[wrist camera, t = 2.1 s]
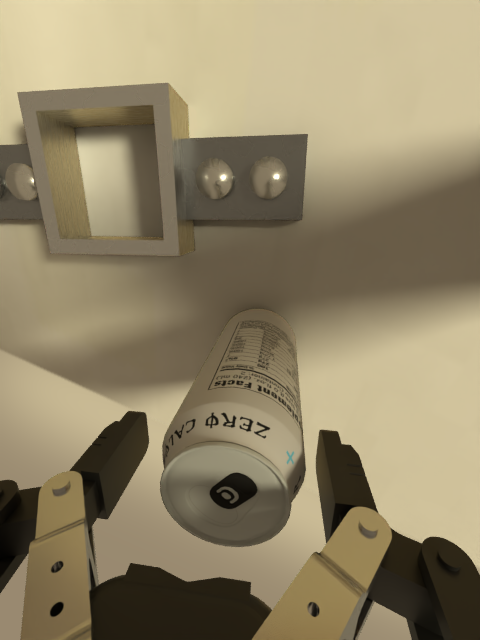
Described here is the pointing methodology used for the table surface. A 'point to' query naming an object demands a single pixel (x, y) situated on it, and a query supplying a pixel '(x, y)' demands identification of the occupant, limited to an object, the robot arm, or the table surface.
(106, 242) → the mounting bracket
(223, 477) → the energy drink can
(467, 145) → the table surface
